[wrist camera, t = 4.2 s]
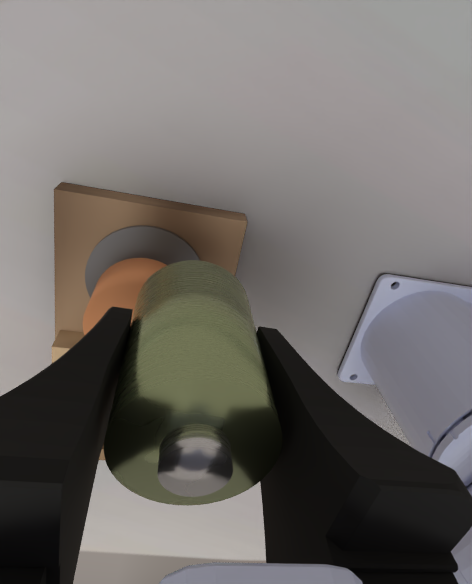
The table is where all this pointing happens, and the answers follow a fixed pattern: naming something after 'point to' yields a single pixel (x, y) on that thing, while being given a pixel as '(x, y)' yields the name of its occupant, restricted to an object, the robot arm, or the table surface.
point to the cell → (192, 392)
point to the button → (119, 288)
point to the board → (127, 244)
